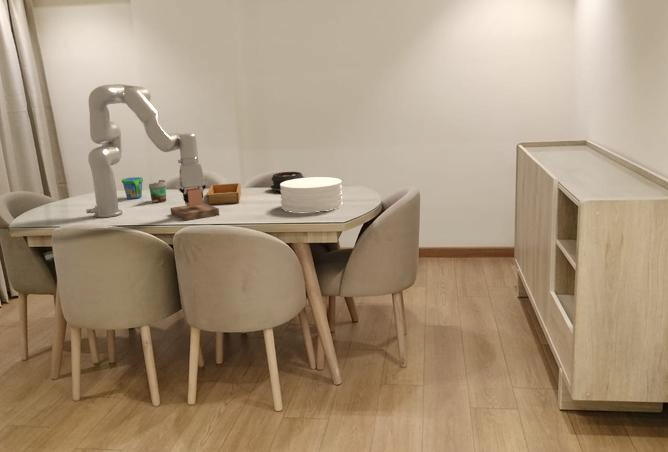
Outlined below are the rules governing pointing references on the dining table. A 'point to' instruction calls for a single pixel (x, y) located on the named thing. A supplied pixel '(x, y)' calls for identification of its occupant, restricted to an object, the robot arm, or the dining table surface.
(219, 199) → the tray
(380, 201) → the dining table surface
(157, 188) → the food container
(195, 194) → the terracotta block
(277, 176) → the casserole
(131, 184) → the snack cup
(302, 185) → the plate stack
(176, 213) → the walnut base
